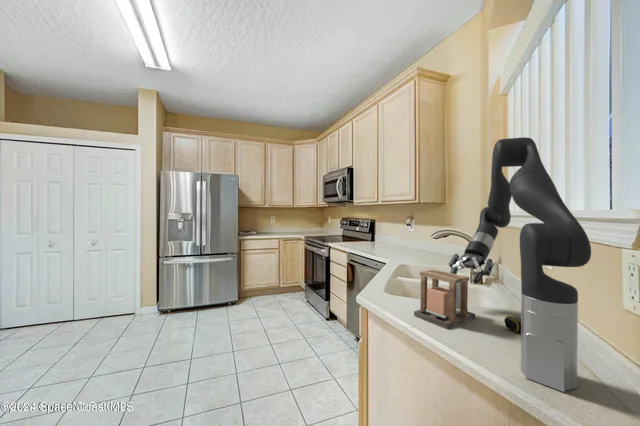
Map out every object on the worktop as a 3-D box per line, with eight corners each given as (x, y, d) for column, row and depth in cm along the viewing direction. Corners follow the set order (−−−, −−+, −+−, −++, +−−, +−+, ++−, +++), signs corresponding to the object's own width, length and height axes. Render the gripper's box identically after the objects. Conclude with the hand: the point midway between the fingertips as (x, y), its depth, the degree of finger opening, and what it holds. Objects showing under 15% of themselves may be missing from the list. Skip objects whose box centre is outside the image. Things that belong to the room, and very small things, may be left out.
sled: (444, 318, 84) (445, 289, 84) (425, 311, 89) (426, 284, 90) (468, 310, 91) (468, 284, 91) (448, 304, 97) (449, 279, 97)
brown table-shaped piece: (448, 329, 79) (448, 281, 79) (412, 315, 90) (413, 272, 91) (476, 318, 88) (477, 275, 88) (441, 306, 99) (441, 268, 99)
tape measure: (538, 334, 77) (538, 322, 77) (522, 337, 75) (522, 324, 75) (515, 325, 84) (515, 313, 84) (499, 327, 82) (499, 315, 82)
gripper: (457, 238, 106) (440, 269, 100) (496, 241, 94) (479, 277, 87) (464, 250, 108) (448, 281, 102) (503, 255, 96) (487, 291, 90)
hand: (462, 279), depth 95 cm, fingers open, 8 cm apart
